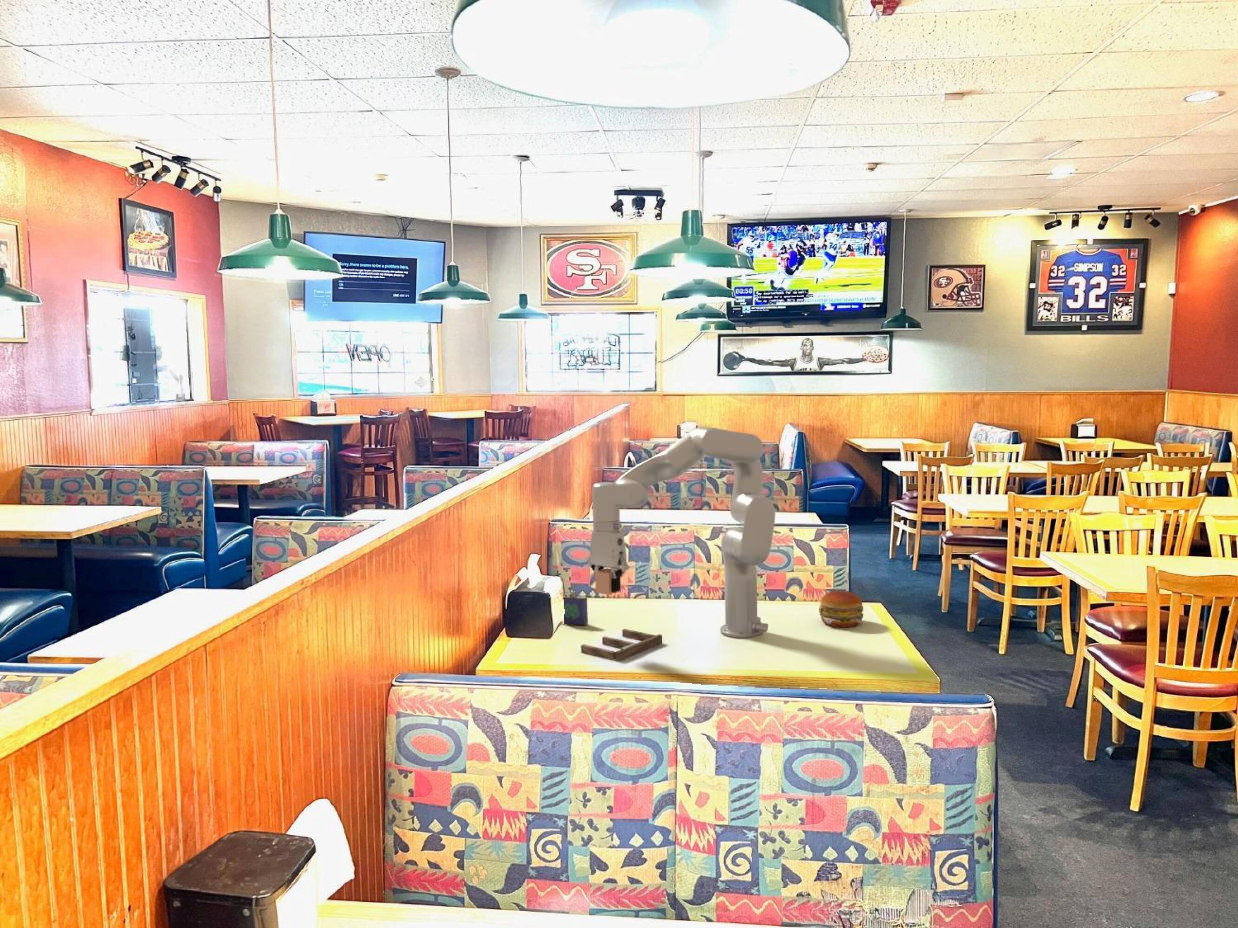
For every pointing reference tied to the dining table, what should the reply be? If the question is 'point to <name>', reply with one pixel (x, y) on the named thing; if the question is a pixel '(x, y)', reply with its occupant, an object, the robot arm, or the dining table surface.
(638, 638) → the comb rack
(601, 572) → the block
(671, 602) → the dining table surface
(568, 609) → the dark blue pouch
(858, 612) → the burger
